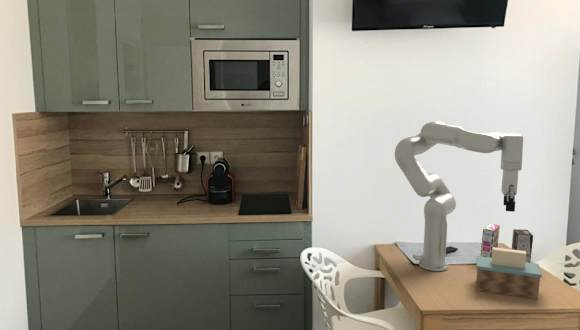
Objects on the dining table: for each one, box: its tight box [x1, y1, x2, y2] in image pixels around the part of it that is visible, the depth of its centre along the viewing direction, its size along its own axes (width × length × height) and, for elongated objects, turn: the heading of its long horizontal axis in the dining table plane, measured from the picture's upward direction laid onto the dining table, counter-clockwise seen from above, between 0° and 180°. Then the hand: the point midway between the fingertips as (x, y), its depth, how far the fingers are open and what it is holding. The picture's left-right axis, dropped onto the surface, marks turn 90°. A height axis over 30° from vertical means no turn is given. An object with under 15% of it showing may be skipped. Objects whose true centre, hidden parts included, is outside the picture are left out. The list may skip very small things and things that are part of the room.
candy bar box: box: [480, 223, 501, 258], centre depth 228 cm, size 11×5×16 cm, turn 144°
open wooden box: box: [475, 268, 541, 300], centre depth 199 cm, size 22×11×9 cm, turn 69°
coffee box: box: [511, 228, 534, 263], centre depth 222 cm, size 9×6×16 cm
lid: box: [476, 247, 543, 279], centre depth 198 cm, size 23×12×8 cm, turn 69°
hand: (508, 208), depth 199 cm, fingers open, 9 cm apart
